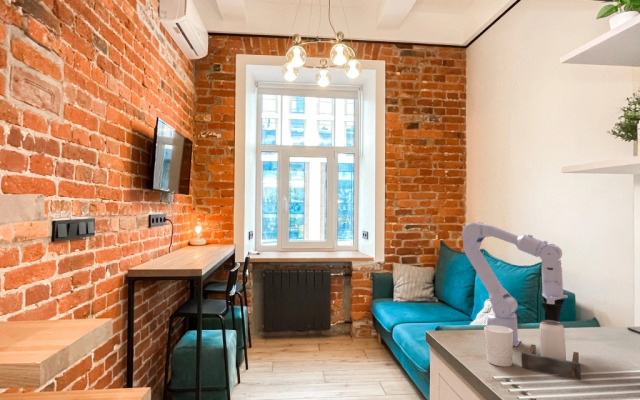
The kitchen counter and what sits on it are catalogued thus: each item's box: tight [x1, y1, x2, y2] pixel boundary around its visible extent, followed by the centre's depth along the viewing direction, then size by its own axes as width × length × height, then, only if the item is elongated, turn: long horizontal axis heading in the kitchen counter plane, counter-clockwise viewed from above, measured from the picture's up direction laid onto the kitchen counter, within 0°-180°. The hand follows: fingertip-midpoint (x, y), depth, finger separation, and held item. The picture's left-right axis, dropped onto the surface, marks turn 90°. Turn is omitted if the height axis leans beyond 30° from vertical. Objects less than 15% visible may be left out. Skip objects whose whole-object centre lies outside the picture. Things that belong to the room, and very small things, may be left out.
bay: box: [521, 343, 582, 381], centre depth 106 cm, size 14×14×4 cm
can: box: [539, 319, 567, 361], centre depth 108 cm, size 6×6×12 cm
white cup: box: [483, 325, 514, 367], centre depth 109 cm, size 8×8×10 cm
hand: (554, 322), depth 118 cm, fingers open, 7 cm apart
